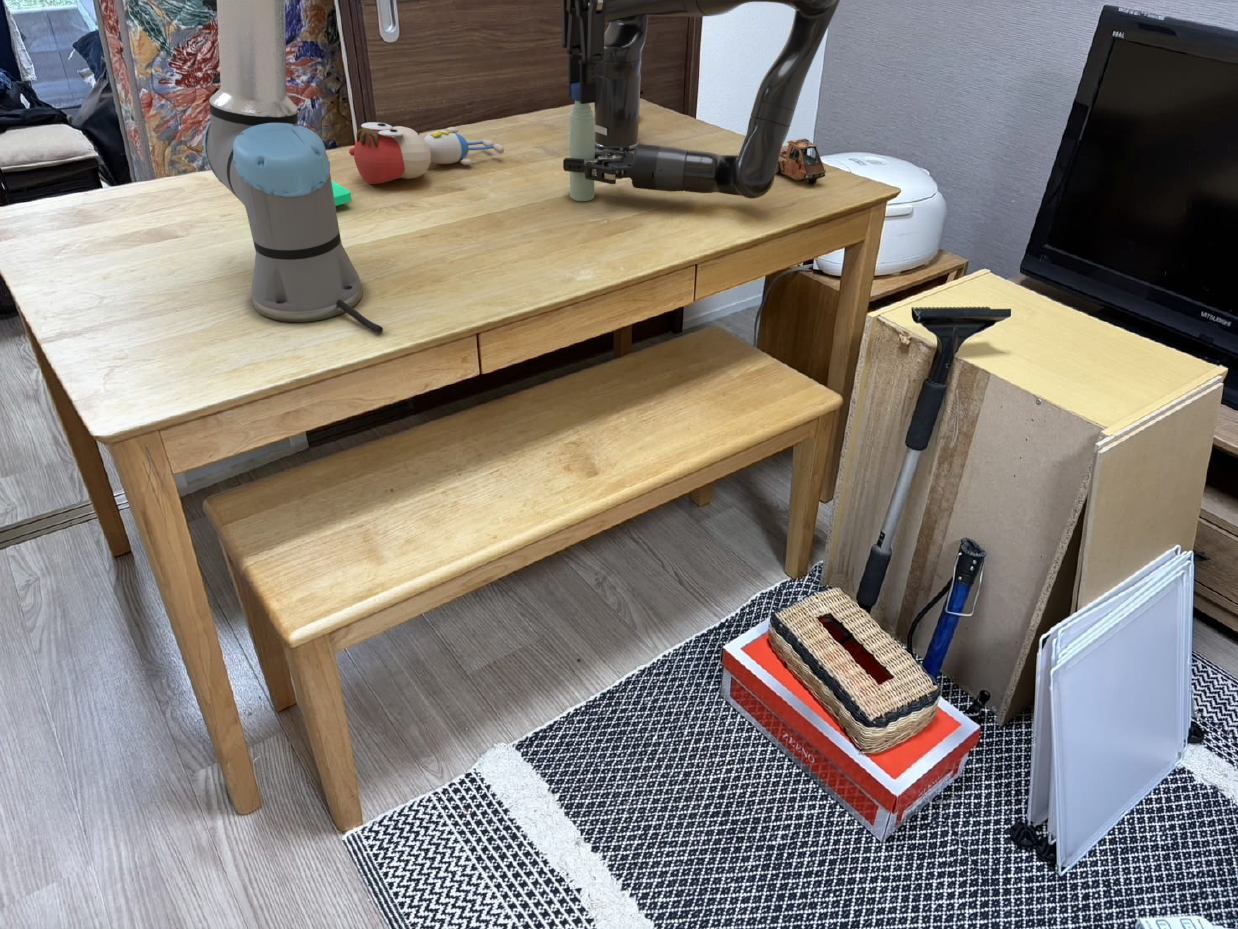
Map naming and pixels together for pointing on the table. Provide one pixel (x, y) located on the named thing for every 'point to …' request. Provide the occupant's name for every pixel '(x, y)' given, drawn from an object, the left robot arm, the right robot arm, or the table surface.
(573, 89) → the cap
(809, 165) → the toy car
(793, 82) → the right robot arm
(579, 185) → the bottle
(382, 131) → the toy
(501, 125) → the table surface
